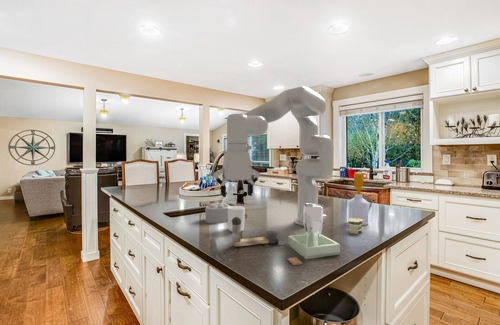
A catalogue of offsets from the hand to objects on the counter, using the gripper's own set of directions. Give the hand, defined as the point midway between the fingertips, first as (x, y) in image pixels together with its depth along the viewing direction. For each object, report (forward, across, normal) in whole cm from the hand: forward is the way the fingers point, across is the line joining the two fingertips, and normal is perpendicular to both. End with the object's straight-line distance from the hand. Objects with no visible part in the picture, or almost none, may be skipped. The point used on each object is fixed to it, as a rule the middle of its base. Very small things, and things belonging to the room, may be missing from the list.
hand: (237, 196), depth 92 cm
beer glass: (+18, -25, +10) cm, 33 cm away
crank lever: (+18, -7, 0) cm, 19 cm away
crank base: (+19, -14, +8) cm, 25 cm away
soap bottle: (+18, -65, -13) cm, 69 cm away
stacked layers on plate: (+19, -54, -2) cm, 57 cm away
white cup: (+19, -5, -20) cm, 28 cm away
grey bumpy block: (+19, 0, -38) cm, 43 cm away
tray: (+18, -25, +11) cm, 33 cm away
